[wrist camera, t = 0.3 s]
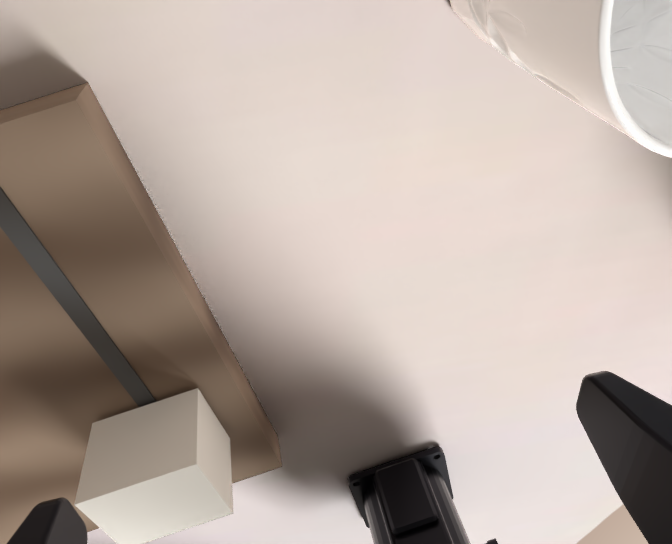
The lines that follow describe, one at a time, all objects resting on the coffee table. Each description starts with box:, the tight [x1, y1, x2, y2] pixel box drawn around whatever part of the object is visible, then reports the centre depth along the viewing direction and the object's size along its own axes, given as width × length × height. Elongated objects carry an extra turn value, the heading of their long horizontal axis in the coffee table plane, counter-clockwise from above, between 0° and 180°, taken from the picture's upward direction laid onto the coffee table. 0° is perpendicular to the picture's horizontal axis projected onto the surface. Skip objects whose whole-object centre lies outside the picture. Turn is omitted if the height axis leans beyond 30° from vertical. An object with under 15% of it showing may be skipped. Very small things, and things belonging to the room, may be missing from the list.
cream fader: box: [74, 388, 233, 544], centre depth 23 cm, size 4×5×4 cm
